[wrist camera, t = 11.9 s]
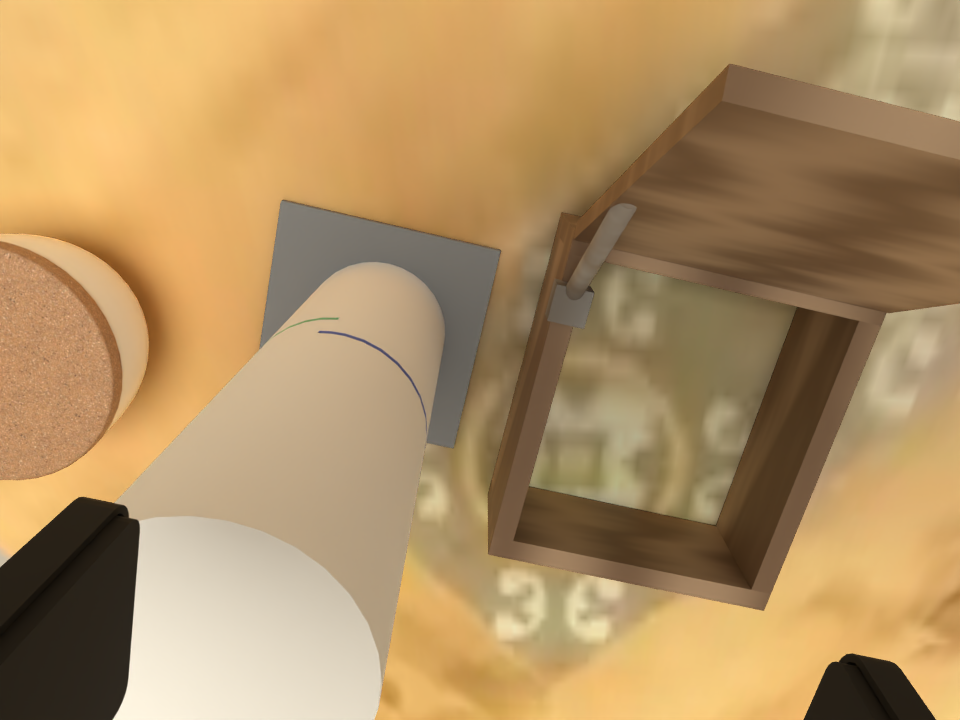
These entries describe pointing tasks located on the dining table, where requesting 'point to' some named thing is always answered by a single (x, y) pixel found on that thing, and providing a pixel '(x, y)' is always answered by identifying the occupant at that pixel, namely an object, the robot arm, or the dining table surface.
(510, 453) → the case
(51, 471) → the lidded jar
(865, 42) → the dining table surface
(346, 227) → the mat
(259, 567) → the cylindrical container
